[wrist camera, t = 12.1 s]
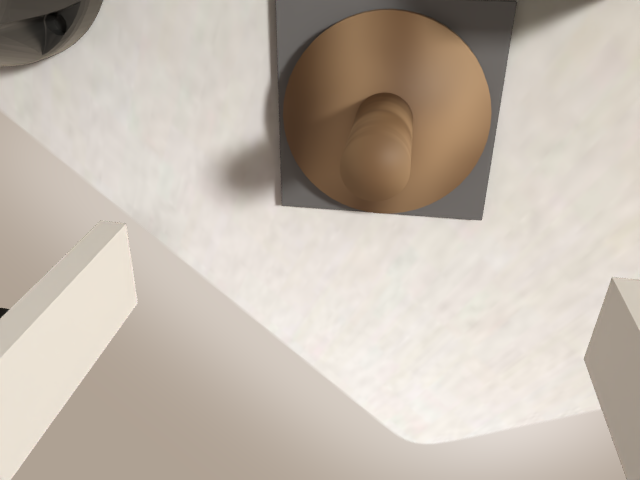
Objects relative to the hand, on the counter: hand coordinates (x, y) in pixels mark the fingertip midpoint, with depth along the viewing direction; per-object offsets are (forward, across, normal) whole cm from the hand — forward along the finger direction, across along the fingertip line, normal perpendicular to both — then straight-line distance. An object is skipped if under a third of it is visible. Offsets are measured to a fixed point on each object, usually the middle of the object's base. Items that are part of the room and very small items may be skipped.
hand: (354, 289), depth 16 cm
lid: (+24, 0, -3) cm, 24 cm away
